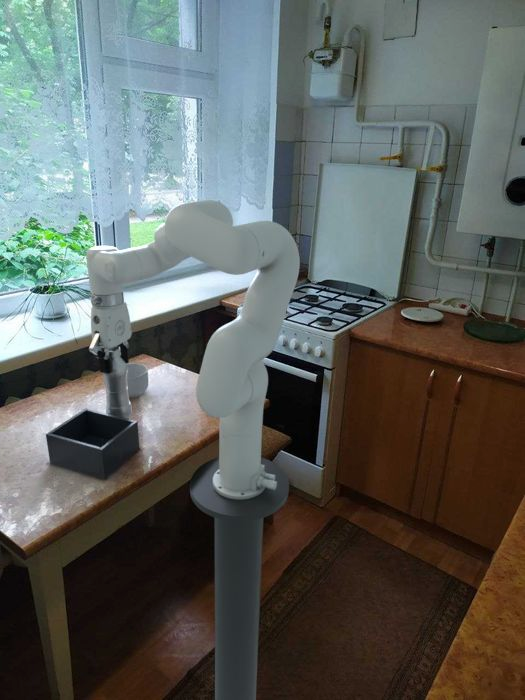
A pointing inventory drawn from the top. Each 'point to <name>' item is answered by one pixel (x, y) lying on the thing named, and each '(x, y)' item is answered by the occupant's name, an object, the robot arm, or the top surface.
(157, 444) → the top surface
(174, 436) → the top surface
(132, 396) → the teacup
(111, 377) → the plastic bottle
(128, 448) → the open box
